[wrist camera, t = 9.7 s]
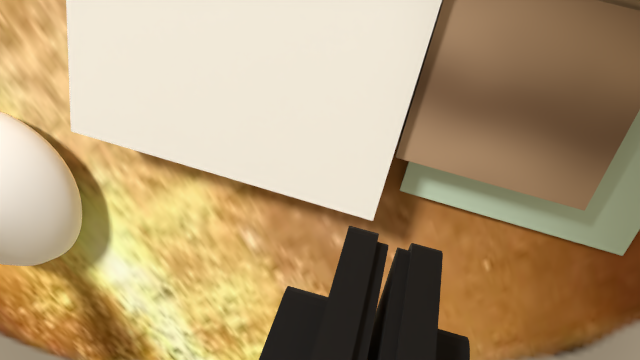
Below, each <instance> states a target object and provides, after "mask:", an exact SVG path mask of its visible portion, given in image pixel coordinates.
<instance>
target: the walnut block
mask: <svg viewBox="0 0 640 360" xmlns="http://www.w3.org/2000/svg"><path fill="white" fill-rule="evenodd" d="M639 110H640V0H442V2H441V5H440V8H439V12H438V15H437V18H436V21H435V24H434V28H433V31H432V34H431V37H430V40H429V44H428V47H427V50H426V53H425V57H424V60H423V63H422V67H421V70H420V73H419V76H418V80H417V83H416V86H415V89H414V93H413V96H412V99H411V103H410V106H409V109H408V112H407V116H406V119H405V122H404V125H403V129H402V132H401V136H400V140H399V144H398V148H397V153H396V158H399V159H403V160H406V161H410V162H413V163H417V164H420V165H424V166H427V167H431V168H435V169H438V170H442V171H445V172H449V173H452V174H456V175H459V176H463V177H467V178H470V179H474V180H477V181H481V182H484V183H488V184H491V185H495V186H499V187H502V188H506V189H509V190H513V191H516V192H520V193H523V194H527V195H531V196H534V197H538V198H541V199H545V200H548V201H552V202H555V203H559V204H562V205H566V206H570V207H573V208H577V209H580V210H584V211H585V209H586V207H587V206H588V204H589V202H590V200H591V198H592V196H593V195H594V193H595V191H596V189H597V187H598V185H599V183H600V182H601V180H602V178H603V176H604V174H605V172H606V171H607V169H608V167H609V165H610V163H611V161H612V160H613V158H614V156H615V154H616V152H617V150H618V149H619V147H620V145H621V143H622V141H623V139H624V138H625V136H626V134H627V132H628V130H629V128H630V127H631V125H632V123H633V121H634V119H635V117H636V116H637V114H638V112H639Z"/></svg>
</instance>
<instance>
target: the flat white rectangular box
mask: <svg viewBox="0 0 640 360" xmlns="http://www.w3.org/2000/svg"><path fill="white" fill-rule="evenodd" d="M441 2H442V0H66V6H67V34H68V62H69V89H70V117H71V131H72V132H75V133H79V134H82V135H85V136H89V137H92V138H95V139H99V140H102V141H105V142H109V143H112V144H116V145H119V146H122V147H126V148H129V149H132V150H136V151H139V152H142V153H146V154H149V155H152V156H156V157H159V158H163V159H166V160H169V161H173V162H176V163H179V164H183V165H186V166H189V167H193V168H196V169H200V170H203V171H206V172H210V173H213V174H216V175H220V176H223V177H226V178H230V179H233V180H236V181H240V182H243V183H247V184H250V185H253V186H257V187H260V188H263V189H267V190H270V191H273V192H277V193H280V194H283V195H287V196H290V197H294V198H297V199H300V200H304V201H307V202H310V203H314V204H317V205H320V206H324V207H327V208H330V209H334V210H337V211H341V212H344V213H347V214H351V215H354V216H357V217H361V218H364V219H367V220H371V221H373V219H374V216H375V213H376V209H377V206H378V203H379V200H380V197H381V193H382V190H383V187H384V184H385V181H386V177H387V174H388V171H389V168H390V165H391V162H392V158H393V155H394V152H395V149H396V146H397V142H398V139H399V136H400V133H401V130H402V126H403V123H404V120H405V117H406V114H407V111H408V107H409V104H410V101H411V98H412V95H413V91H414V88H415V85H416V82H417V79H418V75H419V72H420V69H421V66H422V63H423V59H424V56H425V53H426V50H427V47H428V44H429V40H430V37H431V34H432V31H433V28H434V24H435V21H436V18H437V15H438V12H439V8H440V5H441Z"/></svg>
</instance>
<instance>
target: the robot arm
mask: <svg viewBox="0 0 640 360" xmlns="http://www.w3.org/2000/svg"><path fill="white" fill-rule="evenodd" d="M378 235H379V234H378V233H374V232H370V231H367V230H363V229H359V228H356V227H352V226H349V228H348V232H347V235H346V239H345V242H344V245H343V249H342V252H341V256H340V259H339V263H338V266H337V270H336V273H335V276H334V280H333V283H332V287H331V290H330V294H329V297H325V296H321V295H318V294H315V293H311V292H308V291H304V290H301V289H297V288H294V287H290V286H288V287H287V288H286V291H285V293H284V295H283V298H282V301H281V303H280V306H279V308H278V311H277V314H276V316H275V319H274V322H273V324H272V327H271V329H270V332H269V335H268V337H267V340H266V342H265V345H264V348H263V350H262V353H261V356H260V358H259V360H470V348H469V340H468V337H465V336H461V335H458V334H454V333H451V332H447V331H444V330H440V329H438V317H439V302H440V287H441V272H442V257H443V253H442V251H439V250H436V249H432V248H428V247H425V246H421V245H417V244H414V243H411V245H410V247H409V250H405V249H401V248H397V250H396V253H395V256H394V259H393V262H392V265H391V268H390V271H389V274H388V277H387V281H386V284H385V287H384V290H383V293H382V296H381V299H380V302H379V305H378V308H377V304H378V298H379V293H380V288H381V283H382V277H383V272H384V267H385V262H386V256H387V251H388V245H386V244H383V243H379V242H377V240H378ZM376 309H377V311H376Z"/></svg>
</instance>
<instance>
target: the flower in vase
mask: <svg viewBox="0 0 640 360" xmlns="http://www.w3.org/2000/svg"><path fill="white" fill-rule="evenodd" d="M81 225H82V205H81V197H80V193H79V189H78V186H77V184H76V181H75V179H74V177H73V175H72V173H71V171H70V169H69V168H68V166H67V164H66V163H65V161H64V160H63V159H62V157H61V156H60V155H59V153H58V152H57V151H56V150H55V149H54V148H53V146H52V145H51V144H50V143H49V142H48V141H47V140H46V139H44V138H43V137H42V136H41V135H40V134H39V133H38V132H36V131H35V130H33V129H32V128H31V127H29V126H28V125H26V124H25V123H23V122H22V121H20V120H18V119H16V118H14V117H12V116H10V115H8V114H6V113H3V112H1V111H0V264H4V265H17V266H32V265H38V264H42V263H45V262H47V261H50V260H52V259H55V258H57V257H59V256H61V255H63V254H64V253H66V252H67V251H68V250H69V249H70V248H71V247H72V246H73V245H74V243H75V242H76V240H77V238H78V236H79V234H80V229H81Z"/></svg>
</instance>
